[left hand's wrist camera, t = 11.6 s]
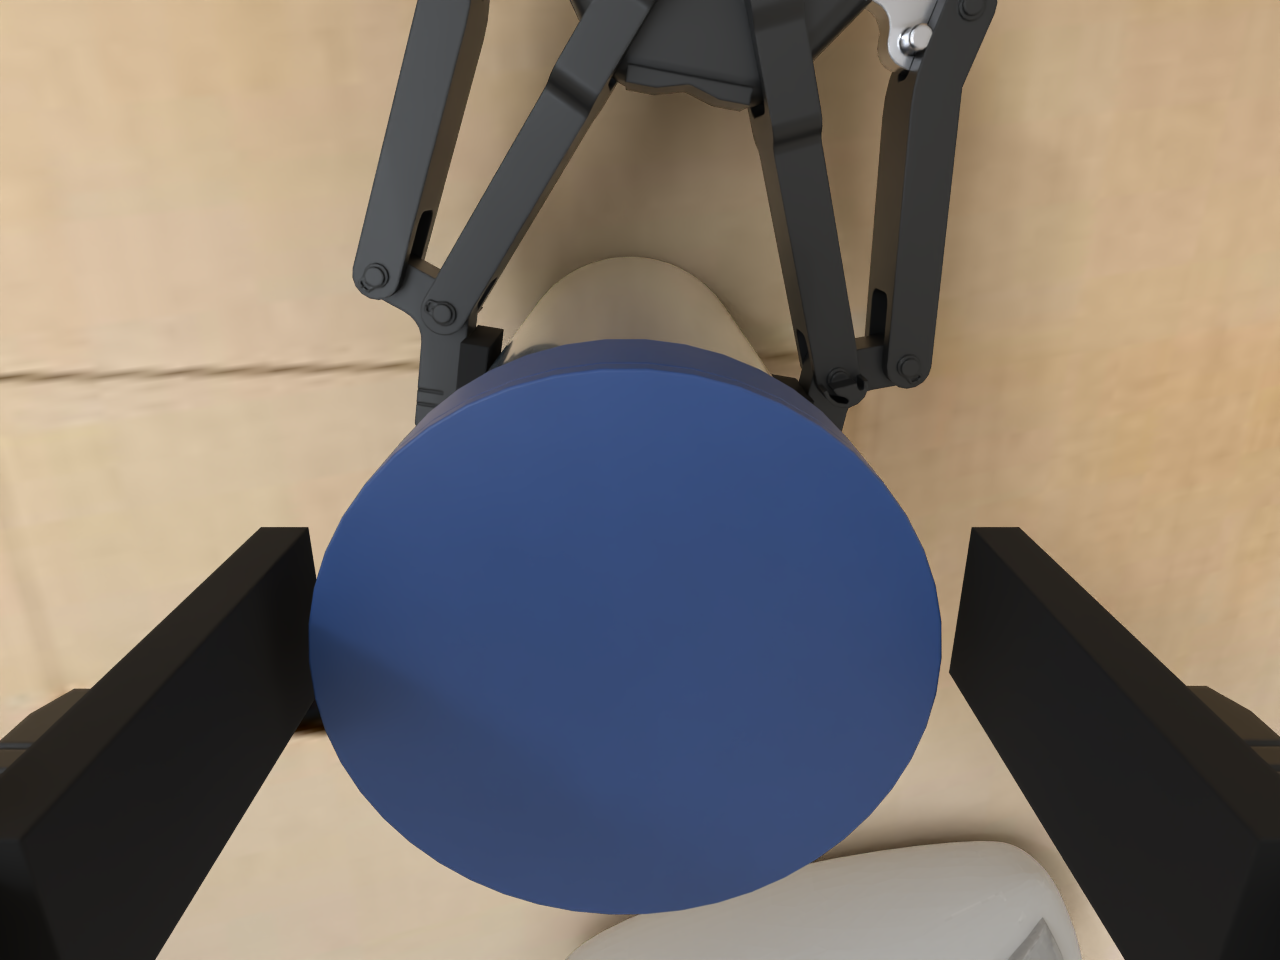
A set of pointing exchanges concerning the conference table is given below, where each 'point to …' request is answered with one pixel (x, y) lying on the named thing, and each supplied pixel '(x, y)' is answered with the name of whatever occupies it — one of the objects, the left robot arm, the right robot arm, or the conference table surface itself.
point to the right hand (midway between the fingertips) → (604, 564)
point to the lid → (625, 631)
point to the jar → (630, 311)
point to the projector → (869, 913)
